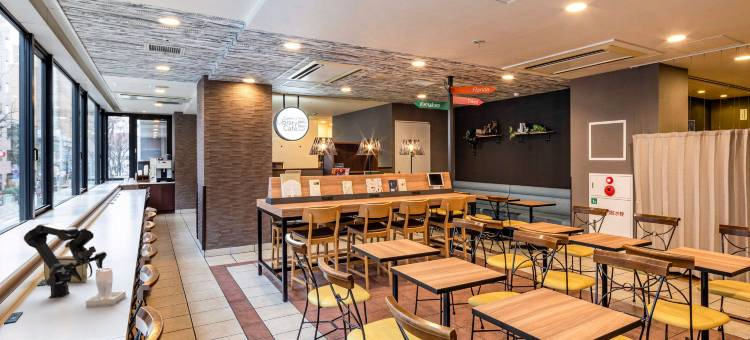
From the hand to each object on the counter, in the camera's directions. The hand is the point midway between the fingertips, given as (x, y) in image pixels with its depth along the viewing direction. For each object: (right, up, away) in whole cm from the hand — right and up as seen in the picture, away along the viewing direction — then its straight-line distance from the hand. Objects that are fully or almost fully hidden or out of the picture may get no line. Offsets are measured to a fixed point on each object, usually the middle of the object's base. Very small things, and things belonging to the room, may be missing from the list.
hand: (92, 276), depth 201 cm
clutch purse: (-38, -11, +35) cm, 53 cm away
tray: (+10, -11, -4) cm, 15 cm away
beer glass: (+9, -10, -4) cm, 15 cm away
